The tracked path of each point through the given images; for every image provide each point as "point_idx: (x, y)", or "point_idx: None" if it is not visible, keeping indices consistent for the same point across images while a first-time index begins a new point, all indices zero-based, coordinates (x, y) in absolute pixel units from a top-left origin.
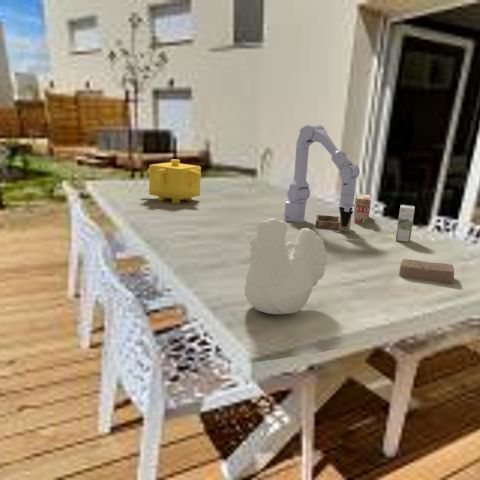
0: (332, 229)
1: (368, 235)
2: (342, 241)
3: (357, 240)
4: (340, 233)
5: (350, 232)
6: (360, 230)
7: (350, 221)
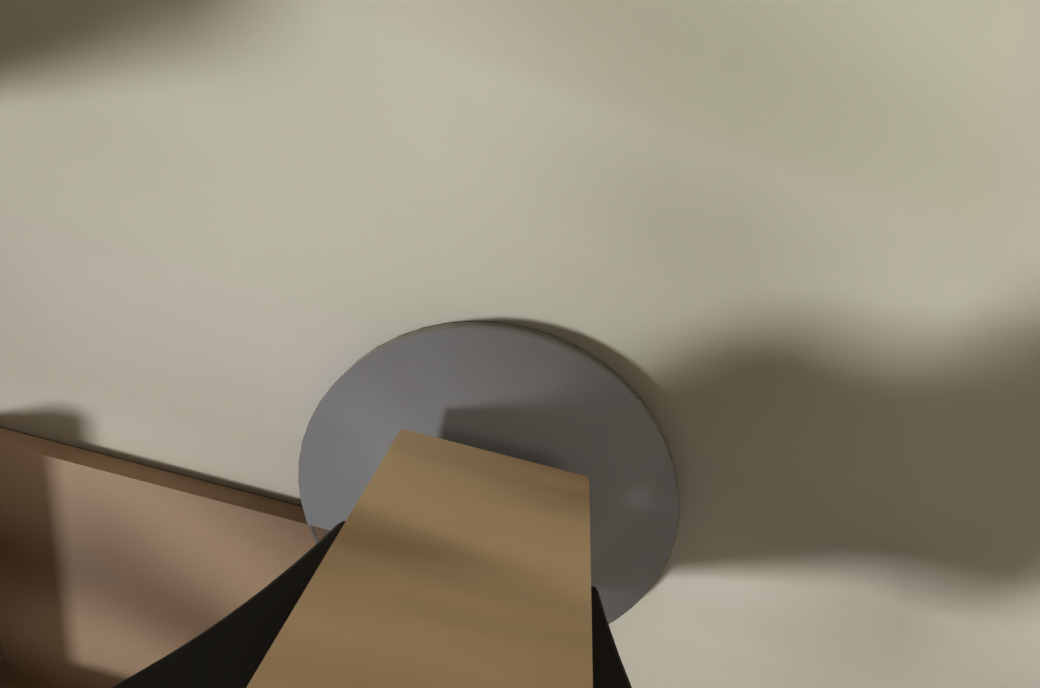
0: None
1: (659, 103)
2: (1010, 657)
3: (1002, 438)
4: (639, 595)
5: (566, 434)
6: (279, 152)
7: (590, 624)
